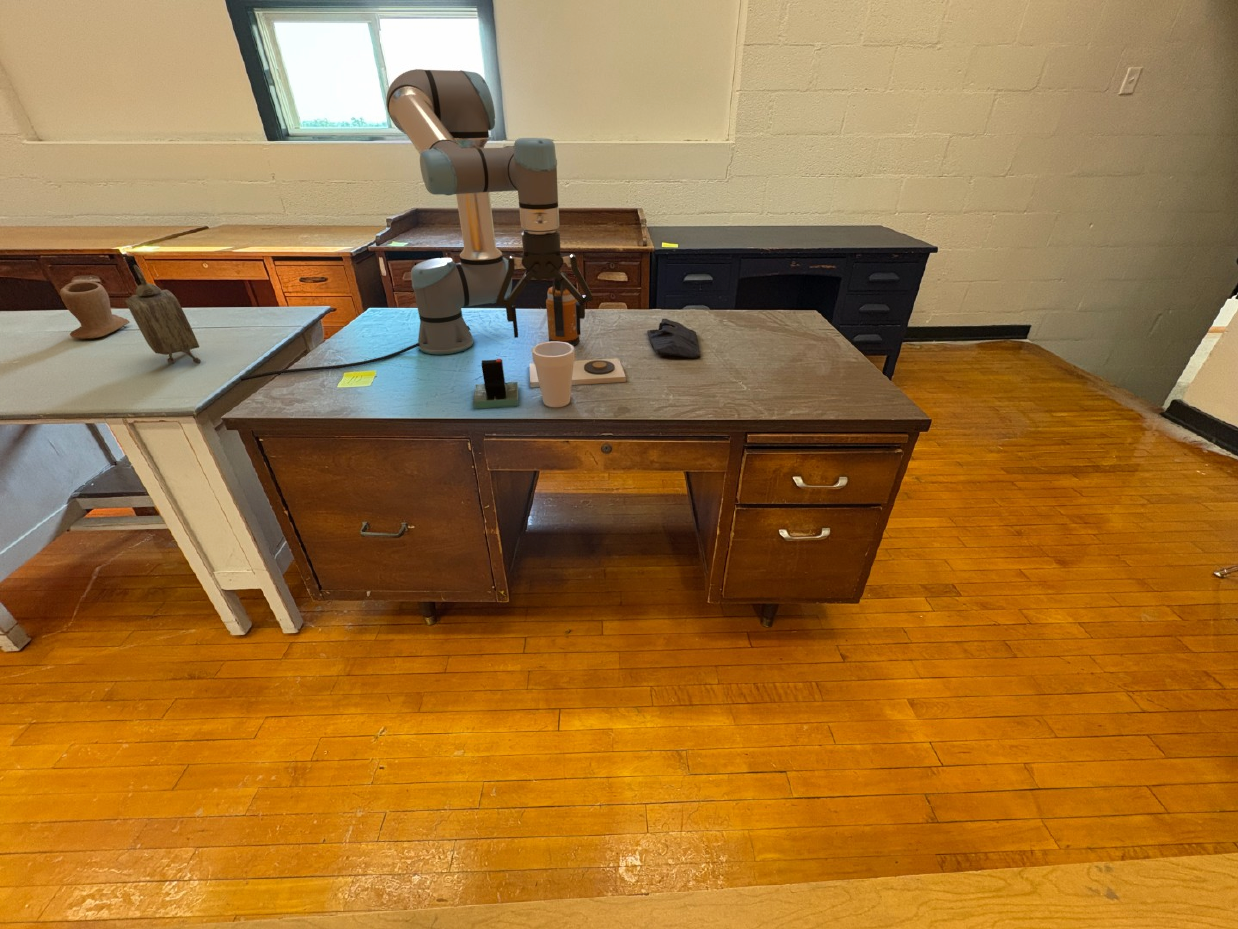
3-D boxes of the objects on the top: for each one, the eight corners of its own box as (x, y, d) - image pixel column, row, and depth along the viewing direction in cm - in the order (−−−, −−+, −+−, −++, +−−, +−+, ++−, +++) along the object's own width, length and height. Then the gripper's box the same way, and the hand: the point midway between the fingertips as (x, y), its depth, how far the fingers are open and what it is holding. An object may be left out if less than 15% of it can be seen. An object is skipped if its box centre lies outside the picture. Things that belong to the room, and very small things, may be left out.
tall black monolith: (485, 393, 122) (481, 362, 118) (486, 390, 123) (481, 359, 119) (505, 392, 123) (501, 361, 118) (505, 388, 124) (502, 358, 120)
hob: (530, 387, 129) (529, 378, 128) (530, 368, 139) (529, 359, 138) (625, 381, 132) (625, 372, 131) (618, 363, 142) (618, 354, 141)
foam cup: (544, 413, 118) (540, 359, 111) (531, 397, 125) (525, 345, 118) (582, 404, 122) (580, 352, 114) (567, 389, 129) (564, 338, 121)
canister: (581, 338, 158) (579, 270, 146) (575, 352, 149) (572, 280, 137) (552, 337, 158) (547, 269, 147) (544, 350, 149) (539, 279, 138)
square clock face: (474, 409, 120) (472, 400, 119) (477, 391, 127) (475, 383, 126) (518, 406, 121) (517, 397, 120) (518, 389, 128) (517, 381, 127)
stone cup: (107, 341, 153) (77, 290, 145) (66, 341, 153) (34, 289, 145) (145, 324, 166) (120, 275, 157) (107, 324, 166) (80, 275, 157)
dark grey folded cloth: (647, 359, 145) (648, 342, 142) (647, 331, 163) (647, 316, 160) (702, 360, 144) (704, 343, 142) (696, 332, 162) (697, 317, 160)
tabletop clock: (208, 363, 140) (162, 267, 126) (167, 373, 135) (115, 274, 121) (193, 349, 149) (149, 257, 135) (154, 358, 143) (104, 263, 129)
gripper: (474, 235, 98) (489, 343, 110) (605, 233, 101) (605, 337, 113) (476, 227, 104) (490, 330, 116) (600, 225, 107) (601, 325, 119)
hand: (547, 334), depth 115 cm, fingers open, 13 cm apart
